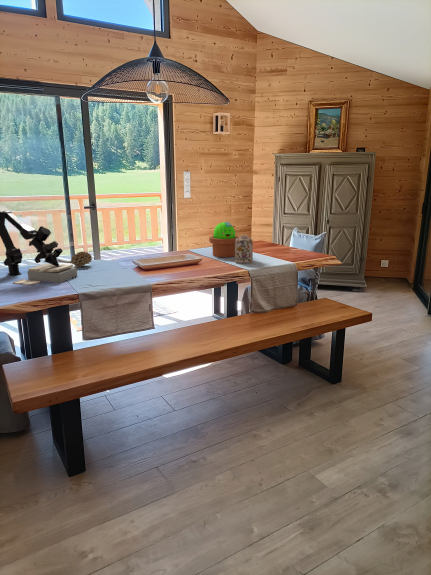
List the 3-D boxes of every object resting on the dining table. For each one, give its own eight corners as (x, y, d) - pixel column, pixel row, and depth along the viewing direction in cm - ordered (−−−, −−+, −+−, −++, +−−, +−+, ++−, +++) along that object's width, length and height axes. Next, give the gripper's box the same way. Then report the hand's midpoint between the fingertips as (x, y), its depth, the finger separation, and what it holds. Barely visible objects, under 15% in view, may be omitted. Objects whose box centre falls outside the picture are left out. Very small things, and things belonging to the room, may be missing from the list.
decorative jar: (252, 263, 279) (253, 236, 274) (235, 263, 280) (235, 236, 275) (251, 259, 291) (252, 234, 286) (234, 259, 291) (235, 234, 286)
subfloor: (28, 279, 240) (27, 268, 238) (47, 273, 255) (46, 263, 253) (59, 282, 233) (58, 271, 232) (77, 275, 248) (76, 265, 246)
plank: (13, 284, 232) (12, 282, 232) (22, 281, 239) (22, 279, 238) (31, 286, 228) (31, 284, 228) (40, 283, 235) (40, 281, 234)
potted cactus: (206, 253, 313) (205, 220, 306) (233, 251, 320) (233, 219, 313) (214, 259, 293) (214, 223, 286) (243, 257, 299) (244, 222, 293)
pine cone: (92, 264, 280) (90, 249, 277) (93, 267, 271) (92, 252, 268) (57, 266, 272) (55, 252, 269) (57, 270, 263) (55, 254, 261)
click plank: (38, 271, 237) (38, 269, 237) (55, 266, 250) (54, 264, 250) (57, 271, 233) (57, 269, 233) (73, 266, 246) (72, 264, 246)
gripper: (36, 239, 229) (54, 260, 229) (58, 234, 246) (75, 254, 246) (26, 252, 234) (44, 273, 233) (49, 247, 251) (66, 266, 250)
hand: (58, 266), depth 241 cm, fingers closed
